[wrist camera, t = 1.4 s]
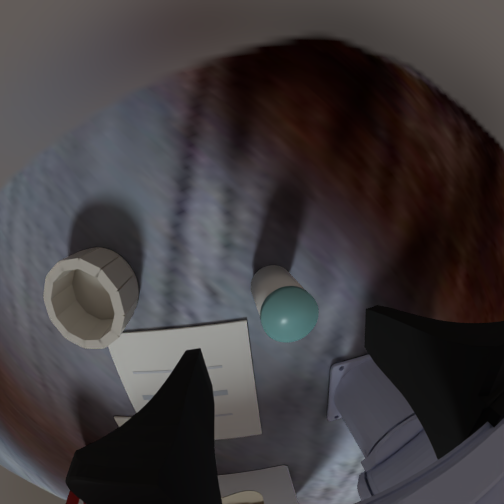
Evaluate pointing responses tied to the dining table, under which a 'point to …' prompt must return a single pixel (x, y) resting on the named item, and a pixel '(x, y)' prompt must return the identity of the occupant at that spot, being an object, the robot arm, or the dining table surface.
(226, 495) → the gable box
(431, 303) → the dining table surface
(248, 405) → the paper
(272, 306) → the marker
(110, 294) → the pen cup
